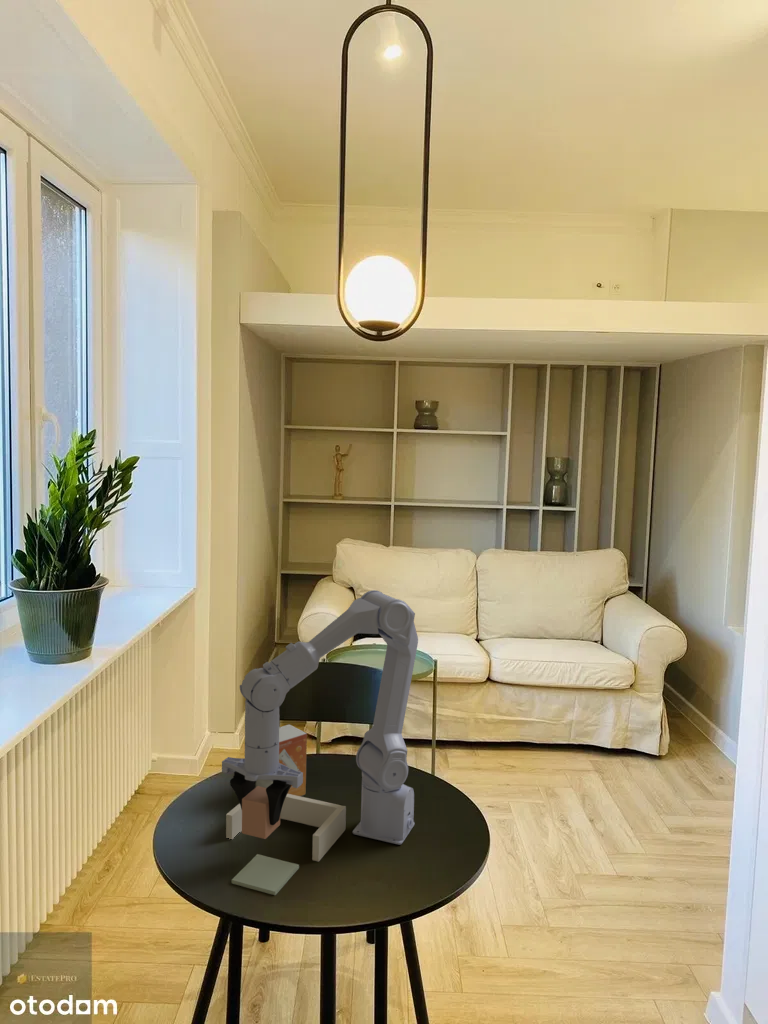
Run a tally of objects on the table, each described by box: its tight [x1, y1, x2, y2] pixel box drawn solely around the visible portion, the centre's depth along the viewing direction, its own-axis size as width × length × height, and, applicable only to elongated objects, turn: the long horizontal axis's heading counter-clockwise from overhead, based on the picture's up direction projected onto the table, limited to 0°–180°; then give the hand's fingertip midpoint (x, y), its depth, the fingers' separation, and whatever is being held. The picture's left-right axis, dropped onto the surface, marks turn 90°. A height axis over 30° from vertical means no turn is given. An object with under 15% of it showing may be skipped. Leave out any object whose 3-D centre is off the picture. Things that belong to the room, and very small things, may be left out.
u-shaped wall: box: [225, 794, 347, 862], centre depth 132 cm, size 18×11×4 cm, turn 69°
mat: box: [231, 853, 300, 896], centre depth 120 cm, size 8×8×1 cm
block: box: [241, 786, 281, 840], centre depth 123 cm, size 4×5×6 cm
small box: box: [255, 724, 308, 797], centre depth 146 cm, size 8×6×13 cm
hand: (261, 819), depth 123 cm, fingers closed on block, 4 cm apart
